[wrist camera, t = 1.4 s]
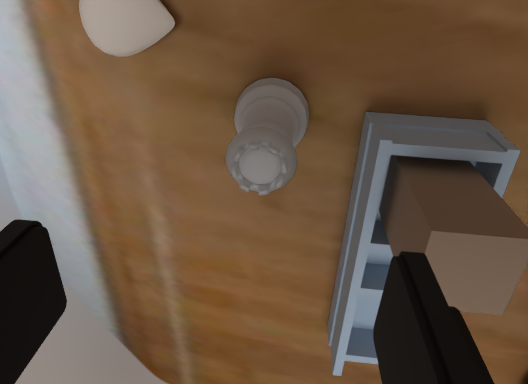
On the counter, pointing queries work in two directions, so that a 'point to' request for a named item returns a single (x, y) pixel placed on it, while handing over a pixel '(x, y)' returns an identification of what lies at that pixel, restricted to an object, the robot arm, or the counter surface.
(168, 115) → the counter surface
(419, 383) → the robot arm
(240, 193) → the counter surface
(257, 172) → the rook chess piece
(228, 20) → the counter surface
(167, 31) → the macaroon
